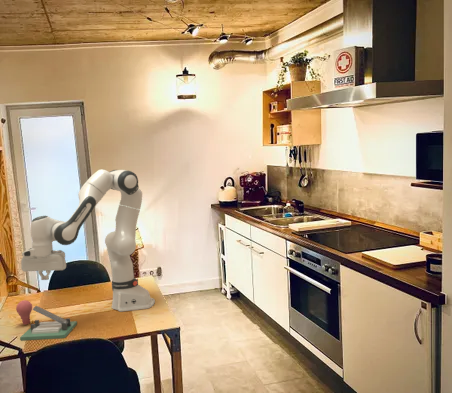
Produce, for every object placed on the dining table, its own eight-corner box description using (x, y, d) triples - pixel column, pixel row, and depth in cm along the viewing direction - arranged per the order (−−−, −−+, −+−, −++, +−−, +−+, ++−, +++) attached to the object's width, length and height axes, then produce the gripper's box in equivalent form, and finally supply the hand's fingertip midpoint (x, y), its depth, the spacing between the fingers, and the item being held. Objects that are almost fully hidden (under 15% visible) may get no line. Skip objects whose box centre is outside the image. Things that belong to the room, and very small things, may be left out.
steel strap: (68, 323, 213) (69, 320, 212) (65, 326, 210) (67, 323, 209) (35, 308, 212) (36, 305, 212) (32, 310, 209) (33, 307, 209)
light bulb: (18, 328, 218) (15, 304, 217) (18, 323, 225) (15, 300, 223) (34, 325, 221) (31, 301, 220) (34, 320, 227) (31, 297, 226)
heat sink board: (77, 324, 219) (76, 314, 219) (64, 338, 203) (63, 327, 203) (35, 326, 220) (34, 316, 219) (20, 340, 204) (19, 329, 203)
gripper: (67, 248, 217) (69, 277, 218) (24, 250, 218) (27, 278, 219) (62, 251, 211) (64, 280, 212) (18, 253, 211) (21, 282, 213)
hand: (45, 279), depth 216 cm, fingers closed
